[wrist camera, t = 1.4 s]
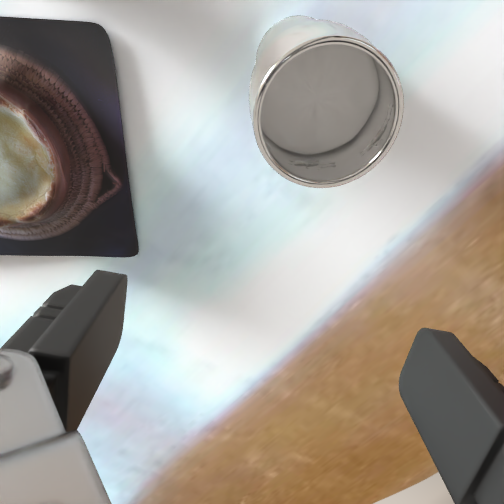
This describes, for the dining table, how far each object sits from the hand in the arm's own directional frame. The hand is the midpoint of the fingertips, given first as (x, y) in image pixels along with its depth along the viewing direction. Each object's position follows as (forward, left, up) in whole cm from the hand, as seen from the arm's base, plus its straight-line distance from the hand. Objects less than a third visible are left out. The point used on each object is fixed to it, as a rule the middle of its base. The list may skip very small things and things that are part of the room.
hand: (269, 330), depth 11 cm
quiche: (+5, -21, -25) cm, 33 cm away
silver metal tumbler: (-3, +3, -25) cm, 25 cm away
